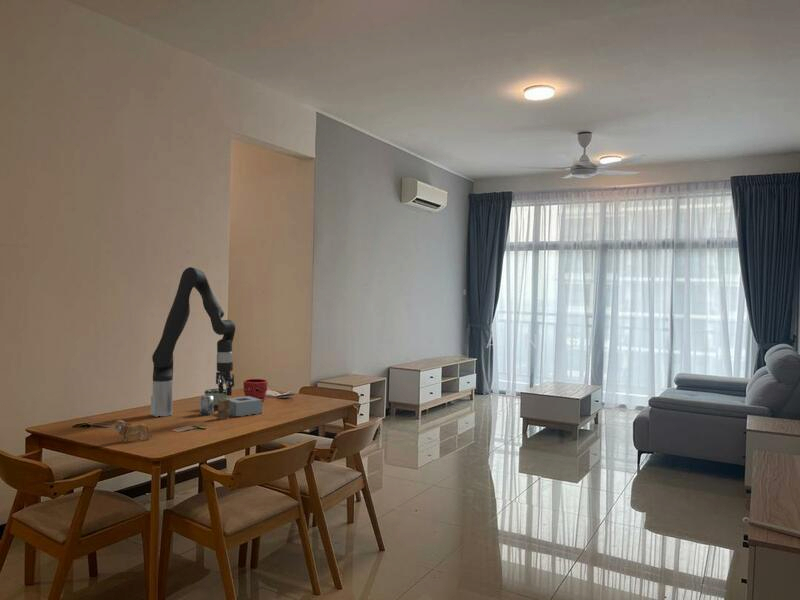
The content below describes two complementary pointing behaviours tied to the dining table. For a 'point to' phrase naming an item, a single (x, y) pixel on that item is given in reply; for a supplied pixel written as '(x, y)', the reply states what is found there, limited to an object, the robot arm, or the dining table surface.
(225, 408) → the square peg
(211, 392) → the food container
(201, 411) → the round peg
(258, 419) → the dining table surface
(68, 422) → the dining table surface
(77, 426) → the dining table surface
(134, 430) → the lion figurine
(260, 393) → the plant pot
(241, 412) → the socket block
